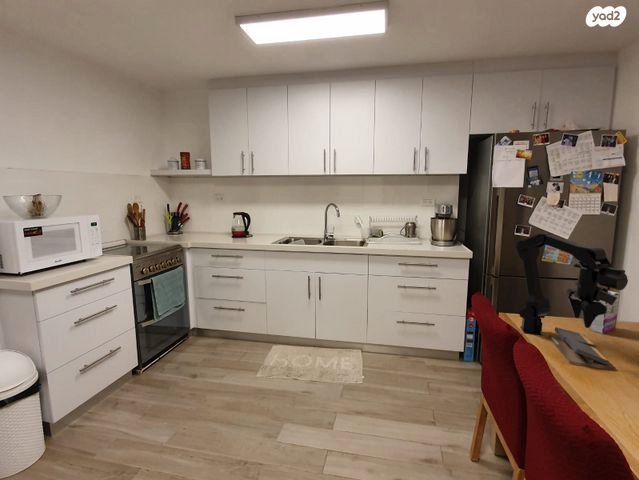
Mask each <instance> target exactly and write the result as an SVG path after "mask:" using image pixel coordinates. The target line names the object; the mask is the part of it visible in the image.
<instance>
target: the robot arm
mask: <svg viewBox="0 0 639 480" xmlns="http://www.w3.org/2000/svg"><path fill="white" fill-rule="evenodd" d="M545 246H548V247H552V248H554V249H557V250H558V251H562V252H564V253H567V254H569V255H571V256H572V257H573V258H574V259H576V260H577V261H578V262H577V263H575V264H573V267H574V268H579V273H578V279H577V281H575V285H576V288H568V289H566V290H565V295H566V297H567V300H568V303H569V306H570V307H571V309H572V314H573V316H574V318H576V319H579V317H580V316H581V317H582V321H583V324H584V327H585V329H586V328H587V329H589V328H591V324H592V322H593V321H594V319H595V318H596V317H597V316H598V315H603V314H606V313H607V307H606V306H605V305H603V304H602V303H600V300H601V301H604V302H606V303H609V304H610V305H613V304H614V302H615V301H616V299H617V297H615V296H614V295H612V294H610V293H608V291H609V289H614V290H617V291H623V290H624V289H625V288H626V287H627V285H628V282H629V279H628V276H627V274H626V270H625V269H621V268H620V269H619V268H613V266H612V263H611V262H610V260H609V259H608V256H607V253H606V250H605V249H603V248H602V247H599V246H594V245H586V244H579V243H577V242H573V241H571V240H568V239H566V238H562V237H559V236H556V235H554V234H552V233H550V232H542V233H541V232H540V233H538V234H536V235H535V236H532V237H529V238H526V239H521V240H519V241H517V243H516V244H515V249H516V252H517V253H516V254H517V255H518V257H519V258H520V259H521V260H522V261H521V262H522V264H523V269H524V270H523V271H524V277H525V282H526V283H525V284H526V289H527V297H526V300H525V307H524V308H523V309H522V310H519V311H518V314H519V317H520V318H522V319H521V320H522V321H521V326H520V329H521V331H522V332H523V333H524V334H530V335H539V336H541V335H542V331H543V324H544V323H543V322H542V319H545V317H546V316H547V315H549V313H550V311H551V309H552V307H551V305H550V299H549V298H548V297H547V298H546V297H545V296H544V295H543V292H542V285H541V279H540V275H539V268H538V261H537V260H538V258H539V255H540V249H541V248H544V247H545ZM599 285H600V286H599ZM607 288H609V289H607ZM594 301H599V302H594Z"/></svg>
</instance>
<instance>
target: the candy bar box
mask: <svg viewBox="0 0 639 480" xmlns="http://www.w3.org/2000/svg"><path fill="white" fill-rule="evenodd" d="M608 293H610V294H612V295H614V296H615V297H617V299H616V301H615V302H614V304H613V305H610V304H609V303H606V302H604V301H601V300H600V303H602V304H603V305H605V306H606V307H607V313H606V314H603V315H598V316H597V317H596V318H595V319H594V321H593V322H592V324H591V326H590V327H589V328H590V329H589V330H590V331H592V332H595V333H598V334H601V335H604V334H606V333H609V332H612V331H614V330H616V327H617V318H618V311H619V302H620V293H621V292H617V291H611V290H608ZM594 302H599V301H594Z"/></svg>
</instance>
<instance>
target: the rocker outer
mask: <svg viewBox="0 0 639 480" xmlns="http://www.w3.org/2000/svg"><path fill="white" fill-rule="evenodd" d="M565 341H566V342H567V343H568V344H569V345H570V346H571V348H572V349H573V350H574V351H575V352H576V353H579V354H581V355H584V356H586V357H589V358H591V359H594V360H596V361H598V362H601V363H603V364H606V365H608V364H609V361H610V360H609V359H608V358H607V359H608V360H609V361H608V360H607V359H606V358H605V357H606V356H605V355H604V354H602V352H600V350H598V349H597V348H596V347H595V348H594V347H591V346H589V345H586V344H584V343H581V342H579V341H576V340H574V339H571V338H569V337H566V339H565ZM603 355H604V356H605V357H604V356H603Z"/></svg>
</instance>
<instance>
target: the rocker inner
mask: <svg viewBox="0 0 639 480" xmlns="http://www.w3.org/2000/svg"><path fill="white" fill-rule="evenodd" d="M554 331H555V333H556V334H557V336H560V337H561V338H562V340H563V341H565V339H566V337H569V338H571V339H574V340H576V341H579V342H581V343H584V344H586V345H589V346H591V347H594V348H596V344H594V342H592V340H590V339H589V338H588V337H587V336H586V334H584V333H580V332H576V331H573V330H569V329H568V330H567V329H565V328H561V327H557V326H555V328H554Z"/></svg>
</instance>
